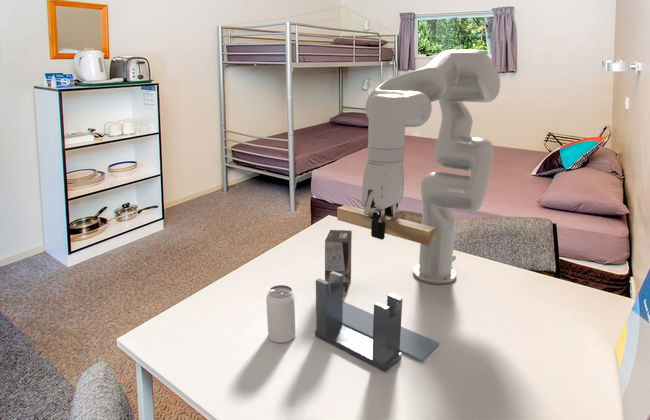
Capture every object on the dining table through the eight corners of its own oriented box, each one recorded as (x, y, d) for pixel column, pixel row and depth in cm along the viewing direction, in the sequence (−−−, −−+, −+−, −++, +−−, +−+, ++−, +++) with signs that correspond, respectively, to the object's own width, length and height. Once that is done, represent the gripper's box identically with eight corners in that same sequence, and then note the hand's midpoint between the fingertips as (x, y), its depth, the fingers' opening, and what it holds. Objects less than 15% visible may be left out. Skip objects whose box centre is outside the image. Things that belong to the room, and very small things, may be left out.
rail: (345, 216, 109) (345, 204, 108) (434, 241, 94) (435, 227, 93) (337, 219, 107) (337, 207, 106) (427, 245, 92) (428, 231, 91)
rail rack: (331, 325, 111) (331, 270, 106) (401, 359, 98) (404, 298, 94) (314, 336, 107) (314, 279, 102) (385, 372, 94) (388, 310, 89)
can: (280, 325, 111) (278, 281, 107) (301, 333, 108) (299, 289, 104) (262, 338, 106) (259, 292, 102) (283, 347, 103) (282, 301, 99)
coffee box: (347, 296, 124) (347, 242, 119) (324, 294, 126) (323, 240, 120) (351, 281, 133) (352, 230, 128) (330, 279, 134) (330, 228, 129)
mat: (344, 303, 121) (344, 301, 120) (439, 345, 103) (439, 343, 103) (324, 316, 115) (324, 314, 115) (421, 362, 97) (422, 359, 97)
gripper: (392, 146, 103) (388, 222, 109) (347, 158, 92) (346, 242, 98) (421, 150, 99) (416, 229, 105) (378, 163, 87) (375, 251, 93)
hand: (382, 234), depth 101 cm, fingers closed on rail, 3 cm apart
